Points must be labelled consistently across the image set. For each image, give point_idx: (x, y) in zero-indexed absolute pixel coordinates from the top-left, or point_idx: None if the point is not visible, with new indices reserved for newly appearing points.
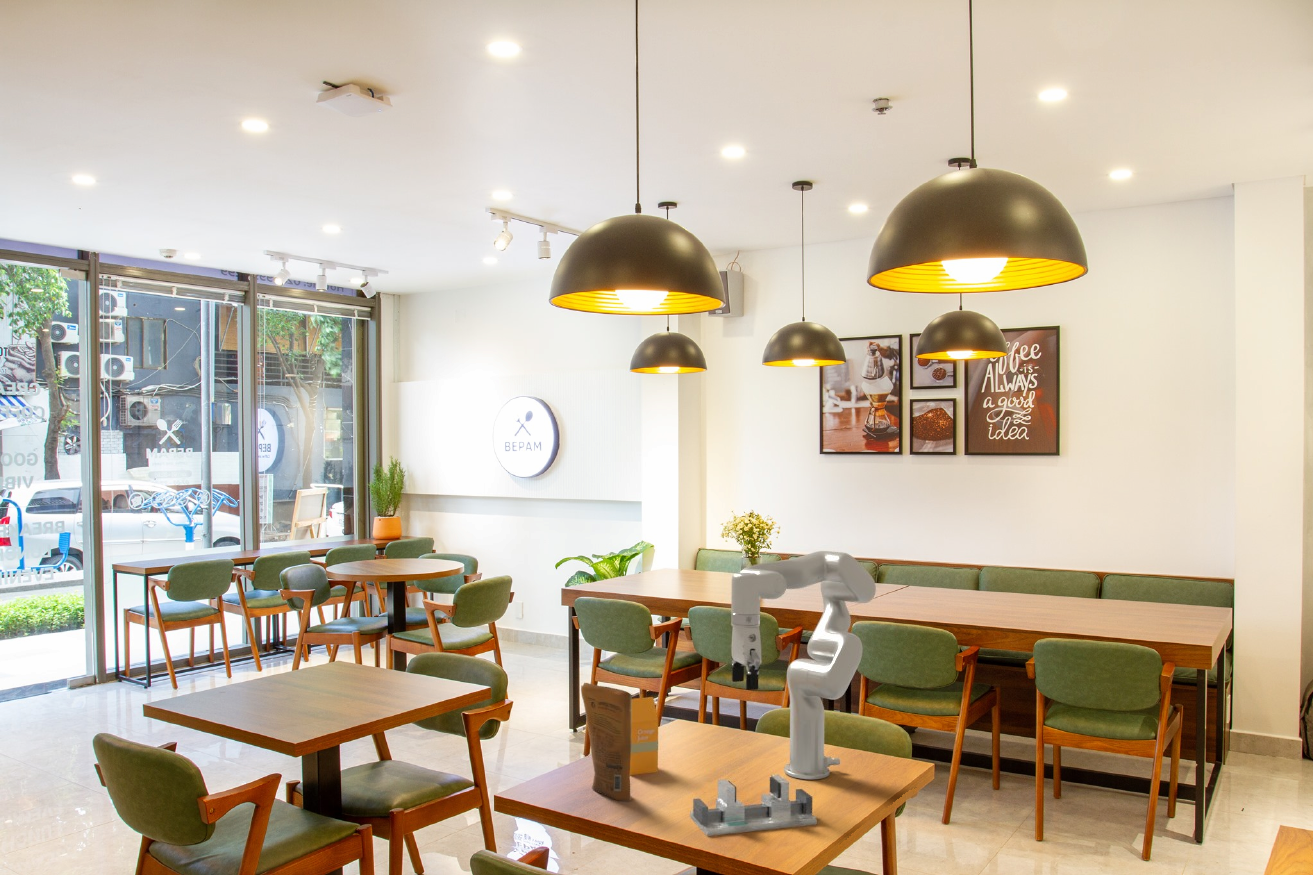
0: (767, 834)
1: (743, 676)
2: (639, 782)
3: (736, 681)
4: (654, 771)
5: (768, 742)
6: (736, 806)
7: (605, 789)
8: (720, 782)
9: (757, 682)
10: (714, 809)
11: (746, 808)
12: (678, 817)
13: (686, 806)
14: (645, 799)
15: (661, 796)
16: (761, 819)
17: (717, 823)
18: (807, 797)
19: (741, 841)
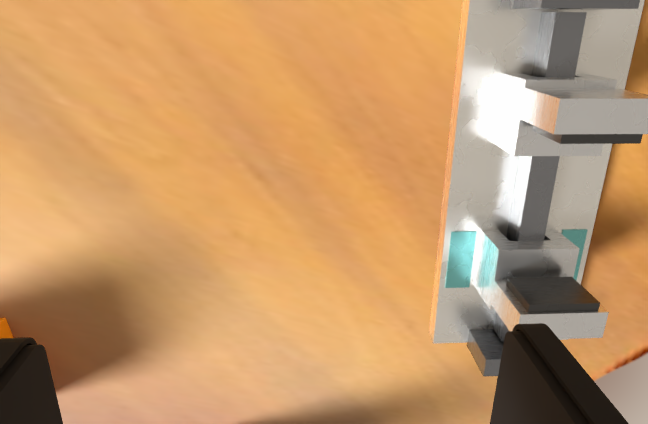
0: (623, 181)
1: (6, 383)
2: (112, 386)
3: (55, 418)
4: (7, 328)
5: None
6: (573, 272)
7: None
8: None
9: (585, 386)
10: None
11: (546, 224)
12: (416, 357)
13: (344, 319)
14: (261, 400)
15: (246, 359)
16: (571, 178)
17: None
18: (638, 3)
19: (629, 263)
